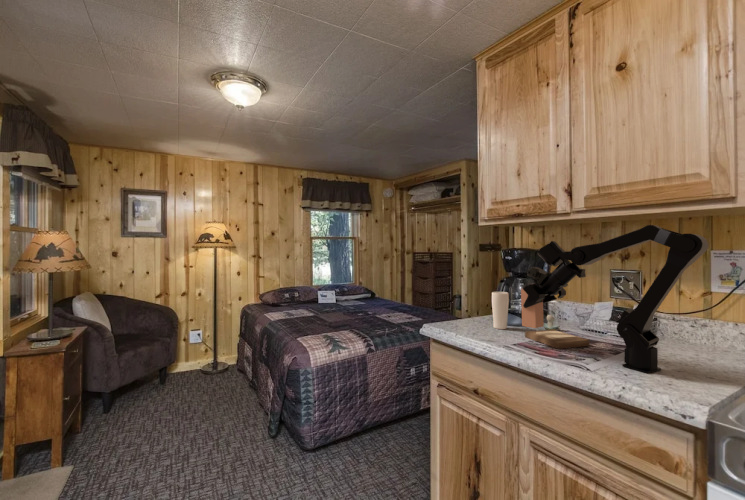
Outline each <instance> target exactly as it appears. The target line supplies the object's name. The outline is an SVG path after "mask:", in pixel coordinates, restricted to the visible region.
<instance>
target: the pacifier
mask: <svg viewBox="0 0 745 500" xmlns="http://www.w3.org/2000/svg"><path fill="white" fill-rule="evenodd" d="M546 320H547V322H544V326H542V327H544V328H545V330H556V331H561V330H562V329H561V328H560V327H561V325H554V322H555V318H554V316H553V315H552V314H547V316H546Z"/></svg>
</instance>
